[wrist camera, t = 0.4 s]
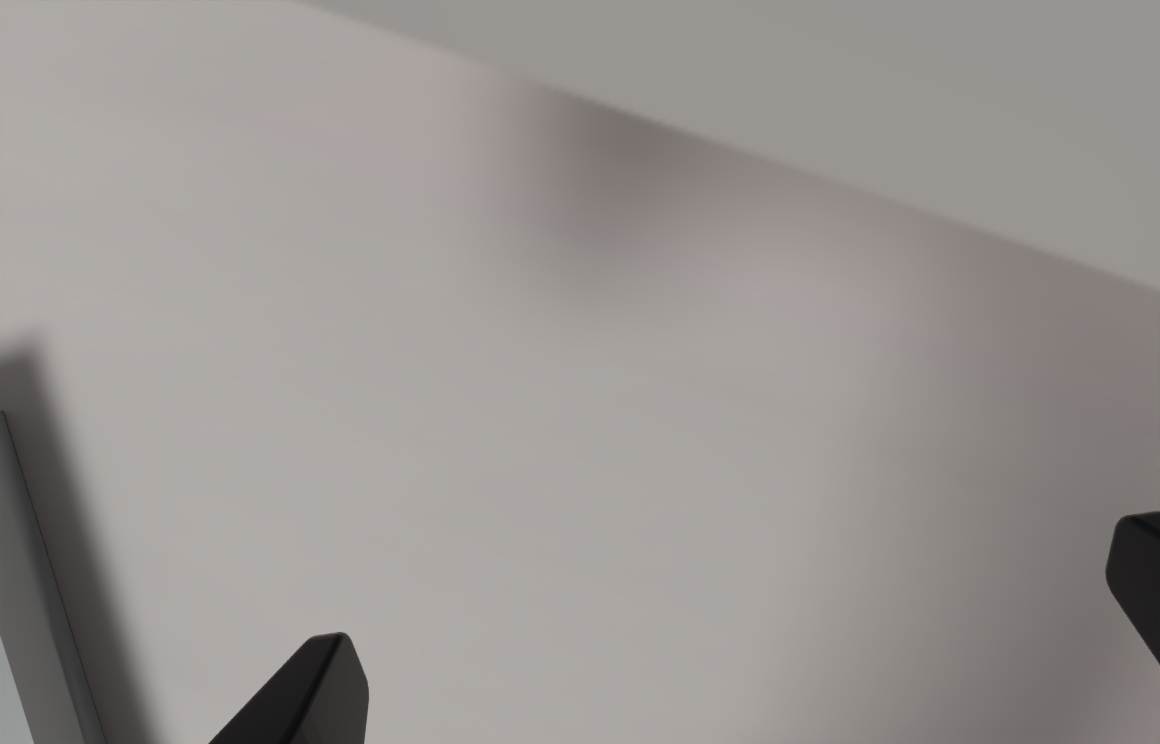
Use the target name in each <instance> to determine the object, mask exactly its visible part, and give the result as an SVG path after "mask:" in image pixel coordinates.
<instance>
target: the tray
mask: <svg viewBox="0 0 1160 744" xmlns="http://www.w3.org/2000/svg"><path fill="white" fill-rule="evenodd" d="M0 744H106V742H105V738H104V735H103V732H102V729H101V725H100V722H99V719H98V716H97V713H96V709H95V706H94V703H93V700H92V697H91V693H90V690H89V687H88V684H87V680H86V677H85V674H84V671H83V668H82V664H81V661H80V658H79V655H78V652H77V648H76V645H75V642H74V639H73V635H72V632H71V629H70V626H69V623H68V619H67V616H66V613H65V610H64V606H63V603H62V600H61V597H60V594H59V590H58V587H57V584H56V581H55V578H54V574H53V571H52V568H51V565H50V561H49V558H48V555H47V552H46V549H45V545H44V542H43V539H42V536H41V533H40V529H39V526H38V523H37V520H36V516H35V513H34V510H33V507H32V504H31V500H30V497H29V494H28V491H27V487H26V484H25V481H24V478H23V475H22V471H21V468H20V465H19V462H18V459H17V455H16V452H15V449H14V446H13V442H12V439H11V436H10V433H9V430H8V426H7V423H6V420H5V417H4V414H3V411H0Z"/></svg>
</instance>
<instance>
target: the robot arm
mask: <svg viewBox="0 0 1160 744" xmlns="http://www.w3.org/2000/svg"><path fill="white" fill-rule="evenodd" d="M1105 573H1106V580H1107V584H1108V586H1109V588H1110V591H1111V592H1112V594H1113V596H1114V597H1115V599H1116V600H1117V602H1118V603H1119V605H1120V606H1121V608H1122V609H1123V611H1124V612H1125V614H1126V615H1127V617H1128V618H1129V620H1130V621H1131V623H1132V624H1133V626H1134V627H1135V629H1136V630H1137V632H1138V633H1139V634H1140V636H1141V637H1142V639H1143V640H1144V642H1145V643H1146V645H1147V646H1148V648H1149V649H1150V651H1151V652H1152V654H1153V655H1154V657H1155V658H1156V660H1157V661H1158V663H1159V664H1160V512H1157V511H1156V512H1147V513H1140V514H1133V515H1127V516H1124V517H1122V518H1121V519H1120V520H1119V521H1118V522H1117V524H1116V526H1115V530H1114V534H1113V539H1112V543H1111V547H1110V552H1109V556H1108V560H1107V565H1106V571H1105ZM368 704H369V688H368V682H367V679H366V676H365V673H364V671H363V668H362V666H361V663H360V661H359V658H358V656H357V653H356V651H355V648H354V645H353V643H352V641H351V639H350V637H349V636H348V635H347V634H346V633H343V632H337V633H330V634H324V635H317V636H313V637H311V638H309V639H308V640H307V641H306V642H305V643H304V644H303V645H302V646H301V647H300V648H299V649H298V650H297V651H296V652H295V653H294V654H293V655H292V656H291V657H290V658H289V659H288V660H287V662H286V663H285V664H284V665H283V666H282V667H281V668H280V669H279V670H278V671H277V672H276V673H275V674H274V675H273V676H272V677H271V678H270V679H269V680H268V682H267V683H266V684H265V685H264V686H263V687H262V688H261V689H260V690H259V691H258V692H257V693H256V694H255V695H254V696H253V697H252V698H251V699H250V700H249V701H248V703H247V704H246V705H245V706H244V707H243V708H242V709H241V710H240V711H239V712H238V713H237V714H236V715H235V716H234V717H233V718H232V719H231V720H230V721H229V723H228V724H227V725H226V726H225V727H224V728H223V729H222V730H221V731H220V732H219V733H218V734H217V735H216V736H215V737H214V738H213V739H212V740H211V741H210V743H209V744H364V740H365V731H366V722H367V713H368Z"/></svg>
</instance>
